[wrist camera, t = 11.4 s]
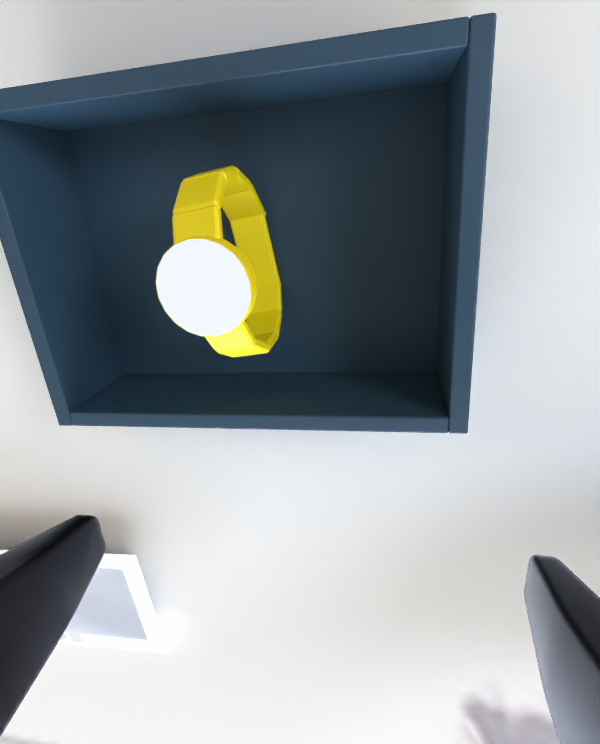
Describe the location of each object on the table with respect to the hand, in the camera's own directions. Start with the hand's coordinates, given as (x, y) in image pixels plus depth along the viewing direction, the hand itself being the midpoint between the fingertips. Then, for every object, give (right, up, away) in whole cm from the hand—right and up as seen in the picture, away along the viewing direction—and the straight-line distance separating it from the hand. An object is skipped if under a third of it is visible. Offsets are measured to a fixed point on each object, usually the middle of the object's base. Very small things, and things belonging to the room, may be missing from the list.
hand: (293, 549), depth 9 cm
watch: (-1, +8, +8) cm, 12 cm away
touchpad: (-16, -10, +20) cm, 27 cm away
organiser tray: (-1, +8, +9) cm, 12 cm away
